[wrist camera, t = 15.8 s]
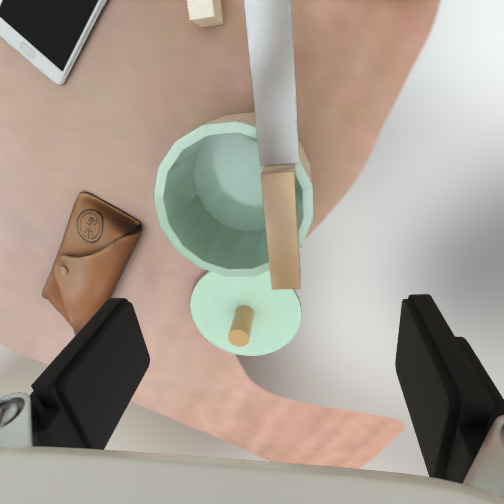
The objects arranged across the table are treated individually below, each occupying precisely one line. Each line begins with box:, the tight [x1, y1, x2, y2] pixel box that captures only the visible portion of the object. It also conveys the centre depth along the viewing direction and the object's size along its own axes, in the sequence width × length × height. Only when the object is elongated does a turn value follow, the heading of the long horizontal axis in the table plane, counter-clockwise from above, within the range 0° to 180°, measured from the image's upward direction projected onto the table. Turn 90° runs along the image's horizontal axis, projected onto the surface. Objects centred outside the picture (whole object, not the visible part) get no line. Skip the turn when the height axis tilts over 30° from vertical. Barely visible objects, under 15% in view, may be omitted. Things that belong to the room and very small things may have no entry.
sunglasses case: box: [42, 192, 142, 335], centre depth 40 cm, size 18×7×7 cm
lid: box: [190, 271, 301, 356], centre depth 39 cm, size 14×14×6 cm
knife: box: [244, 0, 300, 290], centre depth 23 cm, size 3×19×3 cm, turn 6°
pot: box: [153, 112, 314, 277], centre depth 30 cm, size 13×13×9 cm
